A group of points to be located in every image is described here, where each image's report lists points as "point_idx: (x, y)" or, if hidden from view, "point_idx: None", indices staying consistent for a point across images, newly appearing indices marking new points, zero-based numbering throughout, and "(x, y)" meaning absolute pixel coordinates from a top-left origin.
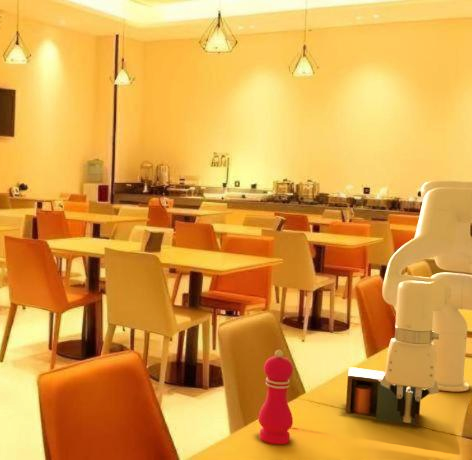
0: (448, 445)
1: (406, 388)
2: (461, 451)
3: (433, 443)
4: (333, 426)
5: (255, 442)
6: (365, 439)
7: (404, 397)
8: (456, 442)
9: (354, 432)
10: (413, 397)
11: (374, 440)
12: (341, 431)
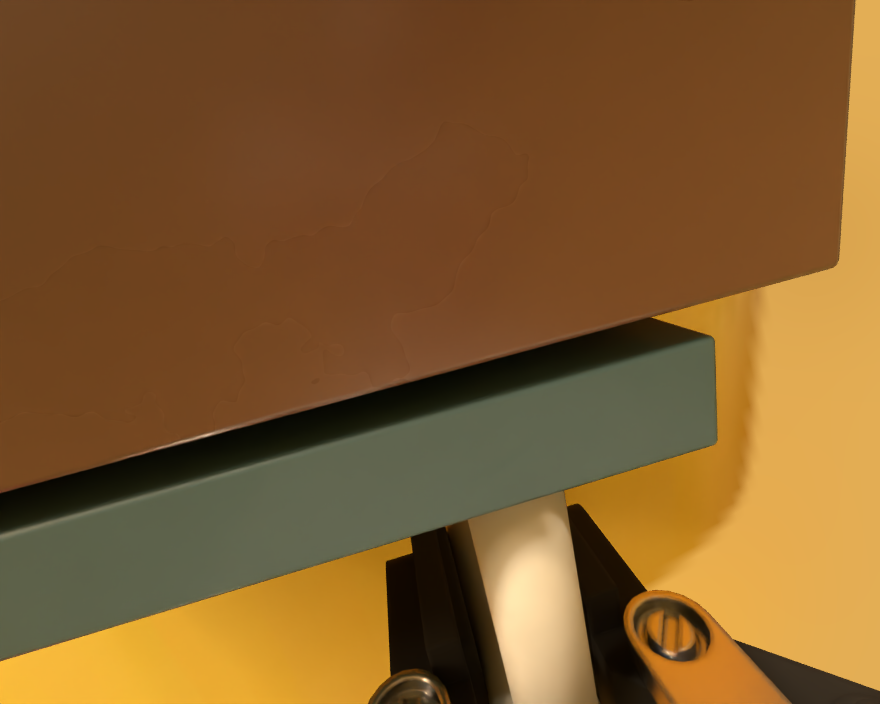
0: (679, 469)
1: (484, 577)
2: (734, 507)
3: (608, 497)
4: (29, 656)
5: None
6: (293, 698)
7: (476, 663)
8: (717, 389)
9: (192, 652)
10: (606, 679)
11: (337, 677)
12: (124, 692)
